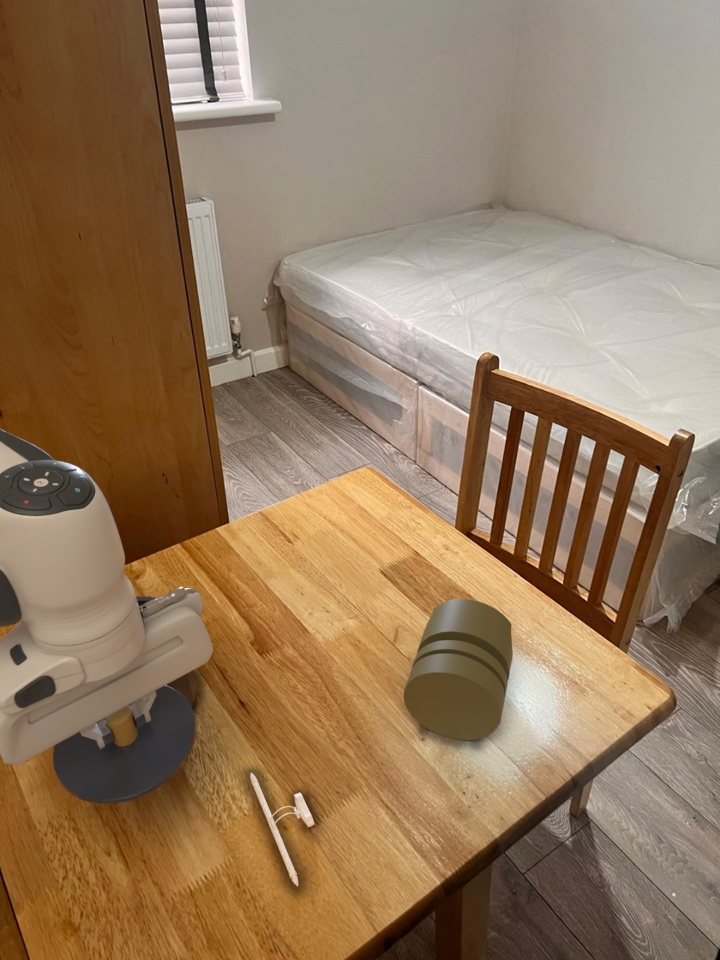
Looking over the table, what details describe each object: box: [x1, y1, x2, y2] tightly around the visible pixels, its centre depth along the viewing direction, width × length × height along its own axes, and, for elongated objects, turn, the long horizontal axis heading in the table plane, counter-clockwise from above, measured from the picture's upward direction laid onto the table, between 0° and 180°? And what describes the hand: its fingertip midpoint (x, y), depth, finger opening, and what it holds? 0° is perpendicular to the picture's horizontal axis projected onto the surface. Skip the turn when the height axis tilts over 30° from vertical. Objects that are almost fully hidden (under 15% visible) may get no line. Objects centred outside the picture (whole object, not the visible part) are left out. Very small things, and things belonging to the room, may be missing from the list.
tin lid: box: [52, 685, 197, 805], centre depth 71 cm, size 14×14×5 cm
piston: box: [403, 598, 514, 741], centre depth 88 cm, size 11×12×11 cm
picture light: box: [249, 772, 315, 887], centre depth 78 cm, size 14×4×2 cm, turn 26°
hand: (123, 730), depth 71 cm, fingers closed on tin lid, 2 cm apart
